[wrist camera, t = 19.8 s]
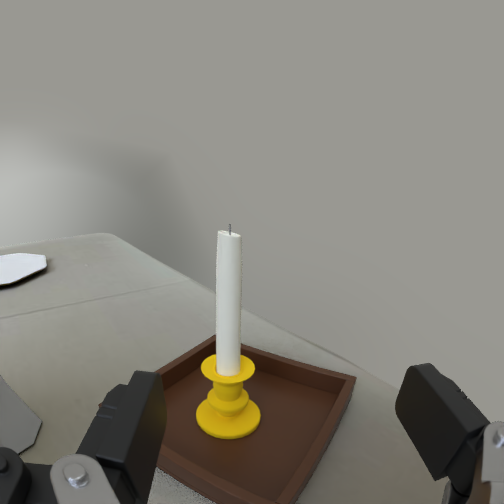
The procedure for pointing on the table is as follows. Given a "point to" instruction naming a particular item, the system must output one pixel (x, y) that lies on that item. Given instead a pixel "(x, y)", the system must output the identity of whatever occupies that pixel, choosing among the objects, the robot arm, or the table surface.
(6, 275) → the plate
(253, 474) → the tray
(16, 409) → the flask
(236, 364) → the candle
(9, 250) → the table surface
